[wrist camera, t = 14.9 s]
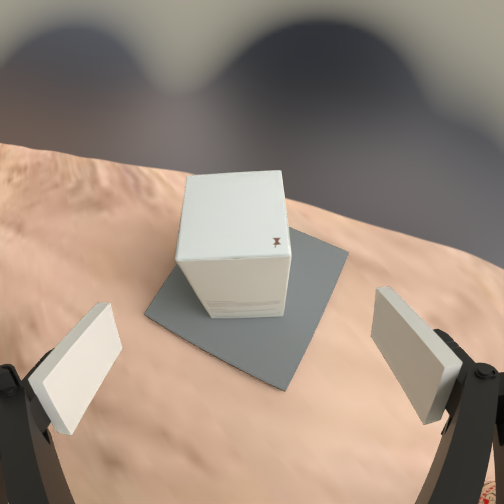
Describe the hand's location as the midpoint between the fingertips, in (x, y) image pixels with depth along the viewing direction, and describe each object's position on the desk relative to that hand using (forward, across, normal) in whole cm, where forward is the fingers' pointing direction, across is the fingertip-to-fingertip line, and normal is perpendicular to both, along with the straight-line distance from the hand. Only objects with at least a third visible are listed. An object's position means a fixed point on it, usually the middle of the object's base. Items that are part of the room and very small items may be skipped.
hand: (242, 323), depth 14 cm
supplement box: (+17, 0, -5) cm, 17 cm away
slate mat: (+17, 0, -5) cm, 18 cm away
